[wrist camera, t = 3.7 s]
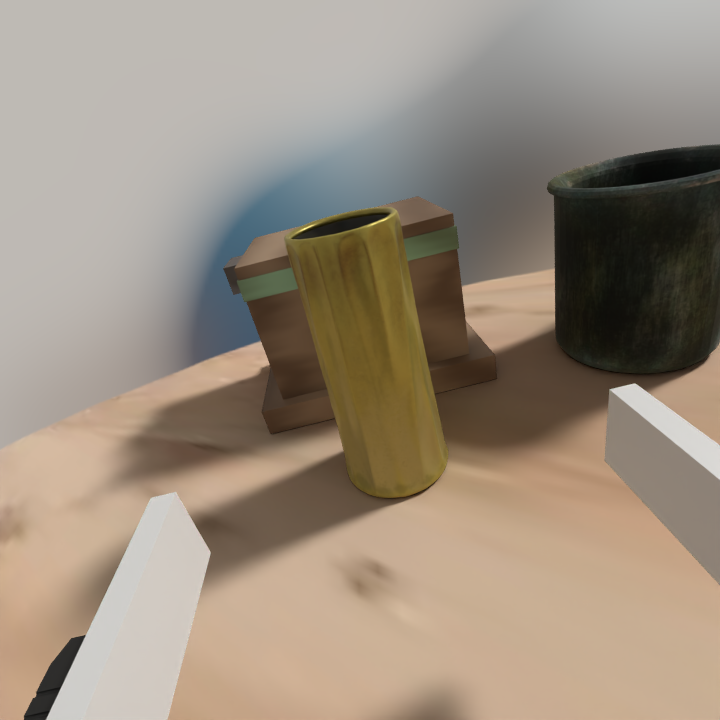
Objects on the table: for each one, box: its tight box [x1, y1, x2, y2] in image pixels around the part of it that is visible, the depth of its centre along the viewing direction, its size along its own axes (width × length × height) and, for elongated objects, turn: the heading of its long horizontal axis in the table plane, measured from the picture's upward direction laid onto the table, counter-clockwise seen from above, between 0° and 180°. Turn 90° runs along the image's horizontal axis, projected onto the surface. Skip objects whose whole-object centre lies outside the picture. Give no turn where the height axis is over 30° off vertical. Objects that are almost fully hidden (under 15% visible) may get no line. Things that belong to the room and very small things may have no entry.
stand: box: [223, 197, 497, 434], centre depth 33 cm, size 17×12×12 cm
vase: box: [284, 207, 448, 498], centre depth 22 cm, size 6×6×14 cm
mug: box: [547, 145, 720, 374], centre depth 29 cm, size 11×15×12 cm
